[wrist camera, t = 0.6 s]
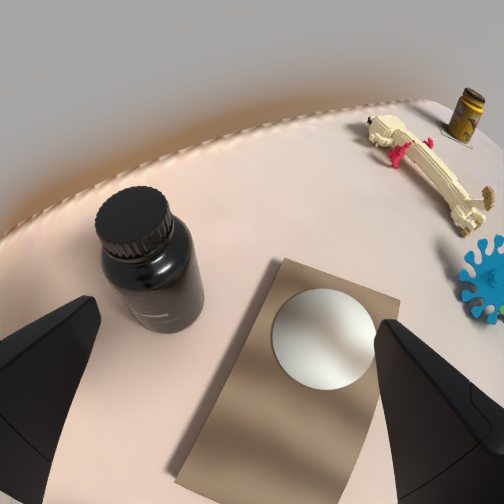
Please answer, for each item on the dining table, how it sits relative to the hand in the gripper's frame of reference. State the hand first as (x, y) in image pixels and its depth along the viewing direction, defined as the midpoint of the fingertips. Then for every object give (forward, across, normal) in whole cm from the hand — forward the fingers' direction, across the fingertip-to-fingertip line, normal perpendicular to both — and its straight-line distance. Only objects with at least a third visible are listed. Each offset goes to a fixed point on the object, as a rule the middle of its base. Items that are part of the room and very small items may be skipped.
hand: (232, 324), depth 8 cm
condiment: (+51, -43, -8) cm, 67 cm away
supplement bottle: (+14, +7, +11) cm, 19 cm away
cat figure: (+34, -24, +1) cm, 42 cm away
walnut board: (+7, -5, +14) cm, 17 cm away
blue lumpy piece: (+16, -27, +10) cm, 33 cm away
